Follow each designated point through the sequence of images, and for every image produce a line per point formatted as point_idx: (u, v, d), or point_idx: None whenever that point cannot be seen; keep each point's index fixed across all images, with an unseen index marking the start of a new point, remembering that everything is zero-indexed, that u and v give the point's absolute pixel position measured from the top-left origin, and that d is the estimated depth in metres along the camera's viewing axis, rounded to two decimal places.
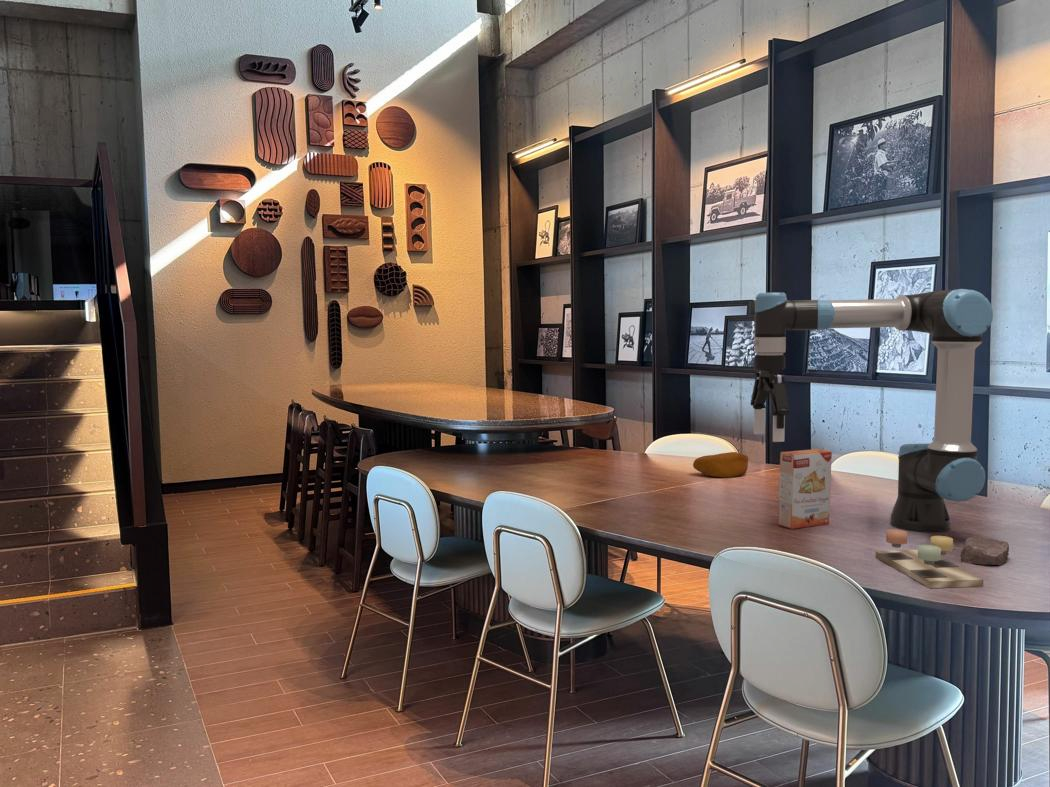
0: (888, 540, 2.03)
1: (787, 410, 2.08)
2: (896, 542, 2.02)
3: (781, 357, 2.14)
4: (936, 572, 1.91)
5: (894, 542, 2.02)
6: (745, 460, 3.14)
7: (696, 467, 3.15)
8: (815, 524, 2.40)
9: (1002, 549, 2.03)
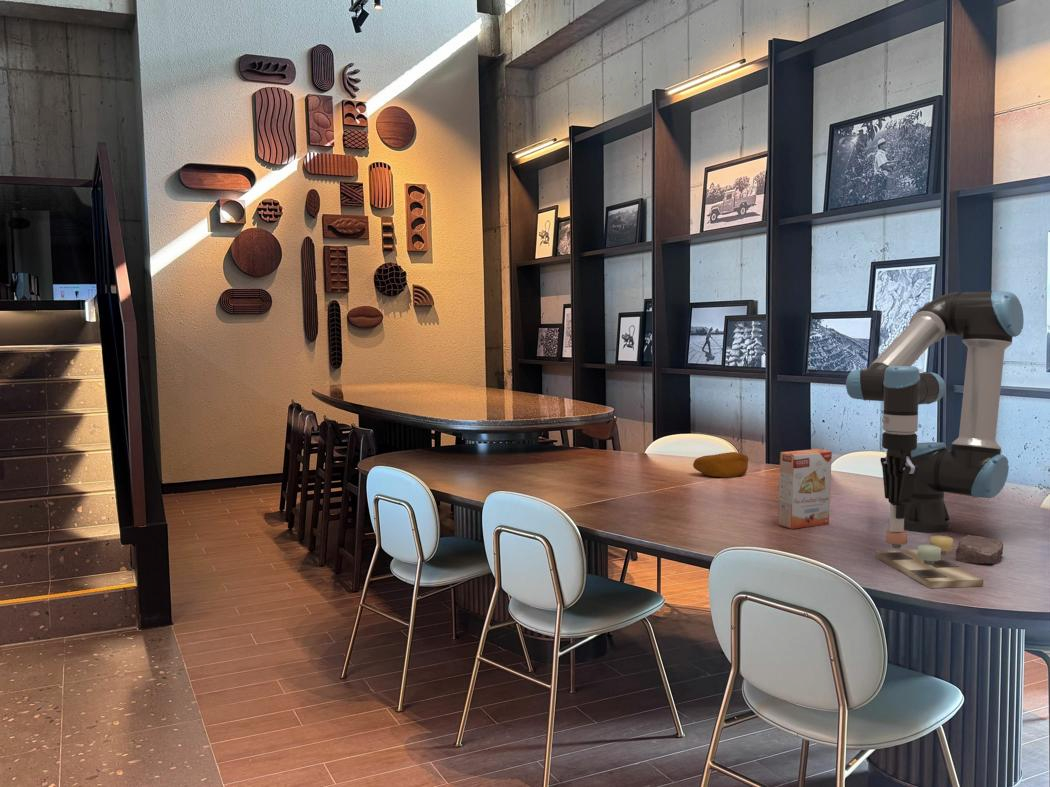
0: (888, 541, 2.03)
1: (909, 502, 1.99)
2: (896, 542, 2.02)
3: (914, 436, 1.98)
4: (936, 572, 1.91)
5: (894, 542, 2.02)
6: (745, 460, 3.14)
7: (696, 467, 3.15)
8: (815, 524, 2.40)
9: (996, 548, 2.04)
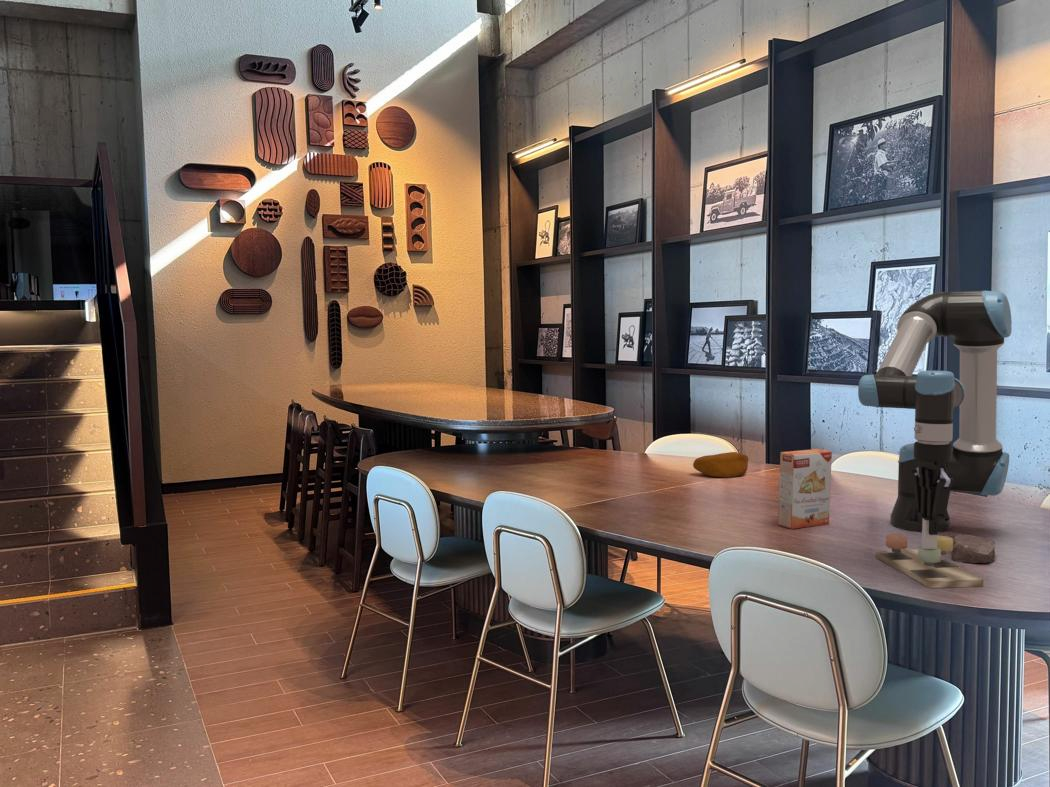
0: (888, 545, 2.03)
1: (943, 517, 1.85)
2: (896, 547, 2.02)
3: (949, 447, 1.85)
4: (936, 572, 1.91)
5: (894, 547, 2.02)
6: (745, 460, 3.14)
7: (696, 467, 3.15)
8: (815, 524, 2.40)
9: (990, 546, 2.05)
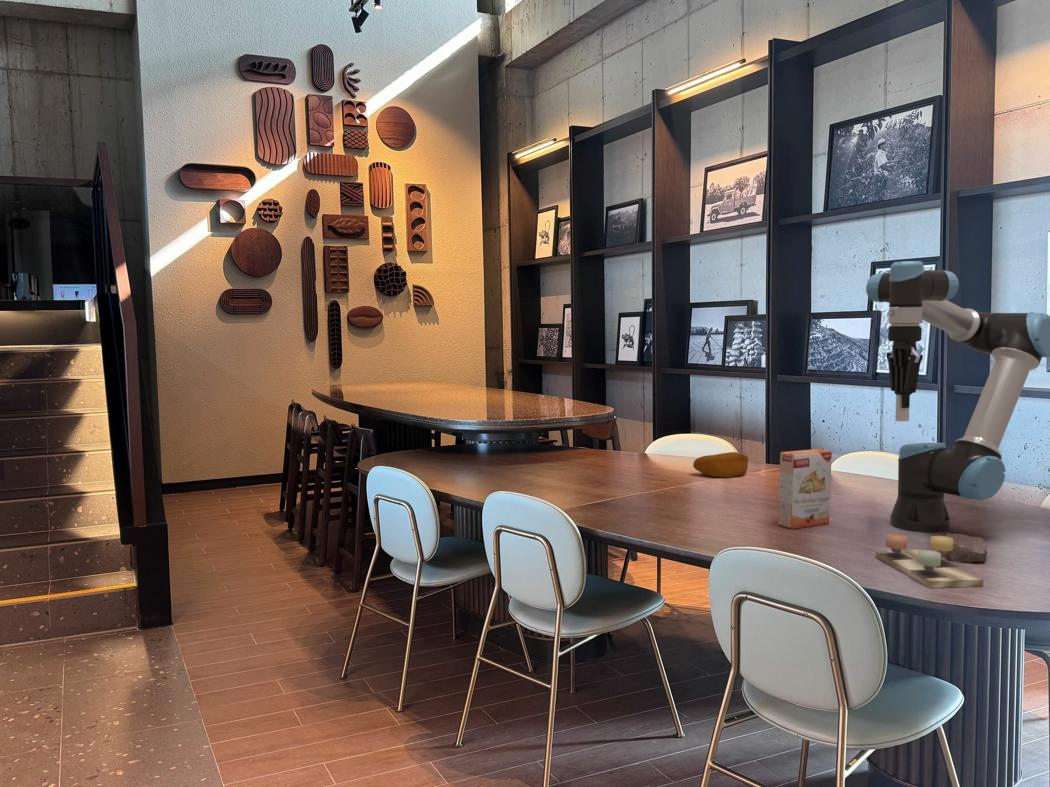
0: (888, 545, 2.03)
1: (914, 391, 2.09)
2: (896, 547, 2.02)
3: (919, 328, 2.08)
4: (936, 572, 1.91)
5: (894, 547, 2.02)
6: (745, 460, 3.14)
7: (696, 467, 3.15)
8: (815, 524, 2.40)
9: (982, 545, 2.07)
